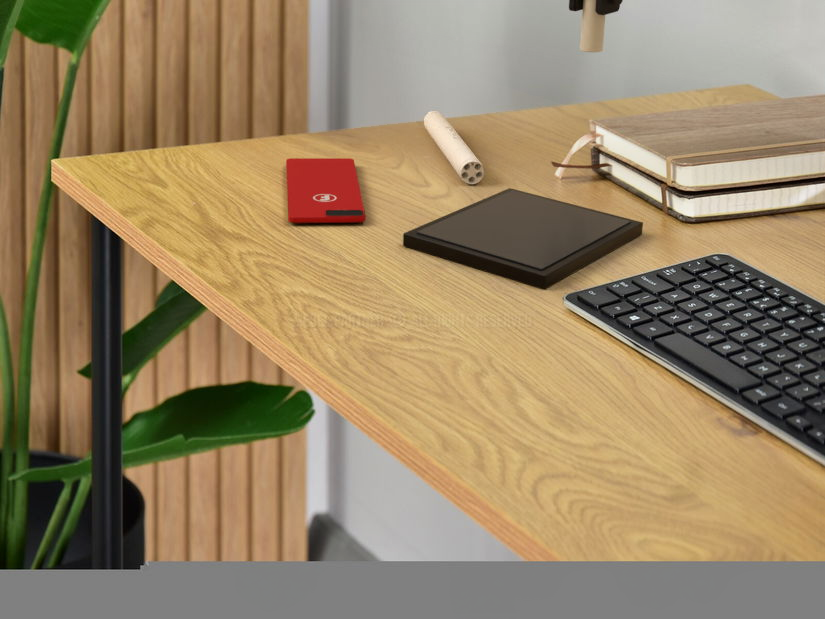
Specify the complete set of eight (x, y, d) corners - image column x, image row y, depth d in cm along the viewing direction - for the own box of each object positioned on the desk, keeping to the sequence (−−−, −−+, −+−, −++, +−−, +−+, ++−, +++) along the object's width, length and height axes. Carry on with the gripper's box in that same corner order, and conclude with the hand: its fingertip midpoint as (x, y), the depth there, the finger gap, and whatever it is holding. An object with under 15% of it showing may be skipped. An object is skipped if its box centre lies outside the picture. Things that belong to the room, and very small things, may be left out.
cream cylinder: (419, 126, 116) (419, 102, 115) (440, 126, 117) (441, 102, 116) (459, 185, 100) (461, 158, 99) (484, 184, 100) (485, 157, 100)
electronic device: (286, 163, 104) (288, 223, 90) (286, 157, 103) (288, 216, 90) (353, 163, 104) (365, 223, 91) (353, 157, 104) (365, 216, 90)
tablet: (508, 199, 97) (509, 186, 97) (642, 234, 91) (643, 221, 90) (402, 246, 87) (403, 231, 87) (544, 289, 80) (545, 274, 80)
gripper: (721, -217, 96) (696, 16, 104) (551, -220, 105) (539, -5, 112) (680, -218, 91) (656, 29, 98) (504, -221, 99) (494, 6, 107)
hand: (594, 9), depth 105 cm, fingers closed
